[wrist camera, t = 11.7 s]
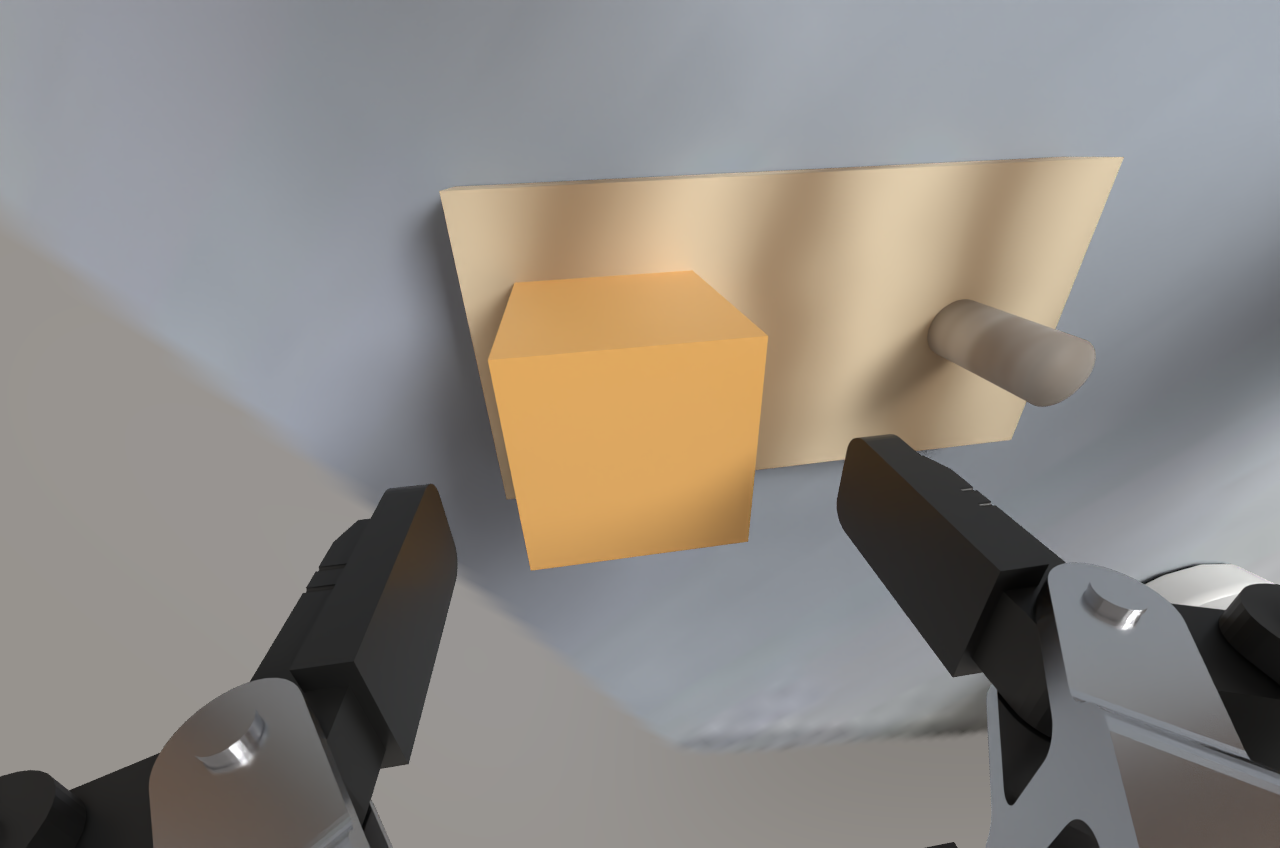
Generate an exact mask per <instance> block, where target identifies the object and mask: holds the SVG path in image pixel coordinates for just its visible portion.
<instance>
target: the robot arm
mask: <svg viewBox="0 0 1280 848" xmlns="http://www.w3.org/2000/svg"><path fill="white" fill-rule="evenodd" d="M837 513H838V518H839V521H840V523H841V526H842V528H843V530H844V531H845V533H846V534H847V535H848V537H849V538H850V539H851V541H852V542H853V543H854V545H855V546H856V547H857V549H858V550H859V551H860V553H861V554H862V555H863V557H864V558H865V560H866V561H867V562H868V564H869V565H870V566H871V568H872V569H873V570H874V572H875V573H876V574H877V576H878V577H879V578H880V580H881V581H882V582H883V584H884V585H885V587H886V588H887V589H888V591H889V592H890V593H891V595H892V596H893V597H894V599H895V600H896V601H897V603H898V604H899V605H900V607H901V608H902V609H903V611H904V612H905V614H906V615H907V616H908V618H909V619H910V620H911V622H912V623H913V624H914V626H915V627H916V628H917V630H918V631H919V632H920V634H921V635H922V636H923V638H924V639H925V641H926V642H927V643H928V645H929V646H930V647H931V649H932V650H933V651H934V653H935V654H936V655H937V657H938V658H939V659H940V661H941V662H942V663H943V665H944V666H945V667H946V669H947V670H948V672H949V673H950V674H951V676H952V677H957V676H963V675H970V674H976V673H982V672H983V673H984V674H985V676H986V677H987V678H988V679H989V681H990V682H991V683H992V684H991V686H990V688H989V690H988V692H987V698H986V703H987V723H988V744H989V764H990V783H991V804H992V817H991V827H990V833H989V837H988V840H987V844H986V848H1280V585H1278V584H1268V583H1259V584H1252V585H1248V586H1246V587H1244V588H1243V589H1242V591H1241V592H1240V593H1239V594H1238V595H1237V597H1236V598H1235V599H1234V600H1233V602H1232V603H1231V604H1230V605H1229V607H1228V608H1227V609H1226V610H1221V609H1213V608H1205V607H1196V606H1188V605H1180V604H1172V603H1170V602H1169V601H1167V600H1166V599H1165V598H1164V597H1162V596H1161V595H1160V594H1159V593H1157V592H1156V591H1154V590H1153V589H1151V588H1150V587H1148V586H1146V585H1145V584H1143V583H1141V582H1139V581H1137V580H1136V579H1133V578H1131V577H1129V576H1127V575H1125V574H1122V573H1120V572H1117V571H1114V570H1112V569H1108V568H1105V567H1102V566H1097V565H1093V564H1086V563H1065V562H1064V561H1063V560H1062V559H1061V558H1059V557H1058V556H1057V555H1056V554H1054V553H1053V552H1052V551H1051V550H1050V549H1048V548H1047V547H1046V546H1045V545H1043V544H1042V543H1041V542H1040V541H1038V540H1037V539H1036V538H1035V537H1034V536H1032V535H1031V534H1030V533H1029V532H1027V531H1026V530H1025V529H1024V528H1023V527H1021V526H1020V525H1019V524H1018V523H1016V522H1015V521H1014V520H1013V519H1012V518H1010V517H1009V516H1008V515H1007V514H1005V513H1004V512H1003V511H1002V510H1000V509H999V508H998V507H997V506H992V505H991V501H989V500H988V499H987V498H986V497H985V496H983V495H982V494H981V493H980V492H978V491H977V490H976V491H974V490H973V487H972V486H971V485H970V484H969V483H967V482H966V481H965V480H964V479H962V478H961V477H960V476H959V475H958V474H956V473H955V472H954V471H953V470H951V469H950V468H948V467H945V466H943V465H941V464H939V463H937V462H935V461H933V460H931V459H929V458H927V457H925V456H921V455H920V454H919V453H917V452H916V451H915V450H914V449H913V448H911V447H910V446H909V445H908V444H907V443H906V442H904V441H903V440H902V439H901V438H900V437H898V436H897V435H894V434H886V435H877V436H868V437H859V438H854V439H852V440H851V441H850V443H849V445H848V447H847V451H846V457H845V462H844V467H843V472H842V477H841V482H840V487H839V492H838V497H837ZM456 576H457V553H456V547H455V544H454V540H453V537H452V534H451V531H450V527H449V524H448V521H447V518H446V515H445V511H444V508H443V505H442V502H441V498H440V495H439V492H438V490H437V488H436V487H435V486H434V485H433V484H426V485H417V486H408V487H399V488H390V489H388V490H387V491H386V492H385V493H384V495H383V497H382V498H381V500H380V502H379V504H378V506H377V508H376V510H375V511H374V513H373V515H372V517H371V519H364V520H358V521H357V522H356V523H354V524H353V525H352V526H351V527H350V528H349V529H348V530H347V531H346V532H344V533H343V534H342V535H341V536H340V537H339V538H338V539H337V540H335V541H334V542H333V544H332V546H331V547H330V549H329V551H328V552H327V554H326V556H325V557H324V559H323V561H322V562H321V564H320V566H319V571H318V572H315V574H314V576H313V577H312V579H311V581H310V583H309V584H308V586H307V587H306V588H307V592H306V593H303V594H302V596H301V598H300V599H299V601H298V602H297V604H296V606H295V607H294V609H293V611H292V612H291V614H290V616H289V618H288V619H287V621H286V622H285V624H284V626H283V628H282V629H281V631H280V632H279V634H278V636H277V638H276V639H275V641H274V643H273V644H272V646H271V647H270V649H269V651H268V653H267V654H266V656H265V658H264V659H263V661H262V662H261V664H260V666H259V668H258V669H257V671H256V672H255V674H254V676H253V678H252V679H251V681H250V682H248V683H246V684H243V685H241V686H238V687H236V688H233V689H231V690H230V691H228V692H226V693H224V694H222V695H220V696H219V697H217V698H215V699H214V700H212V701H211V702H209V703H208V704H206V705H205V706H204V707H202V708H201V709H200V710H199V711H197V712H196V713H195V714H194V715H193V716H191V717H190V718H189V719H188V720H187V721H186V722H185V723H184V724H183V725H182V726H181V727H180V728H179V729H178V730H177V731H176V732H175V733H174V734H173V736H172V737H171V738H170V740H169V741H168V742H167V743H166V745H165V746H164V748H163V749H162V751H161V752H160V753H158V754H156V755H154V756H151V757H149V758H146V759H144V760H142V761H139V762H137V763H134V764H132V765H130V766H127V767H125V768H122V769H120V770H118V771H115V772H113V773H110V774H108V775H105V776H103V777H101V778H98V779H96V780H93V781H91V782H89V783H86V784H84V785H82V786H79V787H76V788H74V789H72V790H68V789H66V788H65V787H64V786H63V785H61V784H60V783H59V782H58V781H56V780H55V779H54V778H52V777H51V776H50V775H49V774H47V773H44V772H41V771H33V770H28V771H20V772H15V773H11V774H8V775H4V776H1V777H0V848H393V847H392V844H391V842H390V840H389V838H388V835H387V833H386V831H385V828H384V826H383V824H382V821H381V819H380V817H379V815H378V812H377V810H376V808H375V806H374V804H373V802H372V800H371V797H372V794H373V790H374V786H375V783H376V780H377V777H378V774H379V770H380V769H381V768H387V767H394V766H399V765H405V764H409V760H410V756H411V752H412V749H413V744H414V741H415V737H416V733H417V729H418V725H419V721H420V718H421V713H422V710H423V706H424V702H425V698H426V694H427V690H428V686H429V683H430V678H431V674H432V671H433V667H434V663H435V659H436V655H437V651H438V648H439V644H440V640H441V636H442V632H443V628H444V624H445V621H446V617H447V613H448V609H449V605H450V601H451V597H452V593H453V589H454V586H455V582H456ZM927 848H957V846H956V844H955V843H954V842H952V843H947V844H942V845H937V846H932V847H927Z"/></svg>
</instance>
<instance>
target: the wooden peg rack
mask: <svg viewBox="0 0 1280 848" xmlns="http://www.w3.org/2000/svg"><path fill="white" fill-rule="evenodd" d="M1123 158H1124V157H1051V158H1030V159H1010V160H989V161H969V162H949V163H928V164H908V165H887V166H867V167H847V168H826V169H806V170H785V171H765V172H745V173H724V174H704V175H683V176H663V177H642V178H622V179H602V180H581V181H561V182H540V183H520V184H500V185H479V186H459V187H452V188H448V189H445V190H442V191H439V192H440V196H441V201H442V205H443V210H444V215H445V219H446V224H447V228H448V233H449V237H450V242H451V247H452V251H453V256H454V260H455V265H456V269H457V274H458V279H459V283H460V288H461V292H462V297H463V302H464V306H465V311H466V315H467V320H468V324H469V329H470V334H471V338H472V343H473V347H474V352H475V357H476V361H477V366H478V370H479V375H480V379H481V384H482V389H483V393H484V398H485V402H486V407H487V411H488V416H489V421H490V425H491V430H492V434H493V439H494V444H495V448H496V453H497V457H498V462H499V466H500V471H501V476H502V480H503V485H504V489H505V494H506V499H515V498H516V495H515V490H514V486H513V481H512V476H511V471H510V466H509V461H508V456H507V451H506V446H505V442H504V437H503V432H502V427H501V422H500V417H499V412H498V407H497V402H496V398H495V393H494V388H493V383H492V378H491V373H490V368H489V363H488V358H489V355H490V352H491V349H492V347H493V344H494V341H495V338H496V335H497V332H498V329H499V326H500V323H501V321H502V318H503V315H504V312H505V309H506V306H507V303H508V300H509V297H510V294H511V292H512V289H513V286H514V283H518V282H532V281H546V280H561V279H575V278H589V277H604V276H618V275H632V274H647V273H661V272H675V271H690V270H693V271H694V272H695V273H696V274H697V275H699V276H700V277H701V278H702V279H703V280H704V281H706V282H707V283H708V284H709V285H710V286H711V287H712V288H714V289H715V290H716V291H717V292H718V293H719V294H721V295H722V296H723V297H724V298H725V299H726V300H727V301H729V302H730V303H731V304H732V305H733V306H734V307H736V308H737V309H738V310H739V311H740V312H741V313H742V314H744V315H745V316H746V317H747V318H748V319H749V320H750V321H752V322H753V323H754V324H755V325H756V326H757V327H759V328H760V329H761V330H762V331H763V332H764V333H765V334H767V335H768V343H767V354H766V364H765V374H764V384H763V394H762V405H761V415H760V425H759V435H758V445H757V455H756V466H755V470H760V469H769V468H777V467H786V466H794V465H803V464H811V463H819V462H828V461H836V460H845V457H846V451H847V447H848V445H849V443H850V441H851V440H852V439H854V438H859V437H868V436H877V435H886V434H894V435H897V436H898V437H900V438H901V439H902V440H903V441H904V442H906V443H907V444H908V445H909V446H910V447H911V448H913V449H914V450H915V451H921V450H929V449H938V448H946V447H955V446H963V445H971V444H980V443H988V442H997V441H1005V440H1011V439H1012V436H1013V434H1014V431H1015V429H1016V426H1017V424H1018V421H1019V419H1020V416H1021V414H1022V411H1023V409H1024V406H1025V404H1026V401H1027V402H1029V403H1031V404H1033V405H1035V406H1041V407H1043V406H1050V405H1054V404H1057V403H1059V402H1061V401H1063V400H1065V399H1067V398H1068V397H1070V396H1071V395H1072V394H1074V393H1075V392H1076V391H1077V390H1078V389H1079V388H1080V387H1081V386H1082V385H1083V384H1084V382H1085V381H1086V380H1087V378H1088V377H1089V375H1090V373H1091V371H1092V369H1093V367H1094V363H1095V349H1094V347H1093V346H1092V344H1091V343H1090V342H1088V341H1087V340H1084V339H1081V338H1078V337H1075V336H1073V335H1070V334H1067V333H1064V332H1061V331H1058V330H1056V326H1057V324H1058V321H1059V319H1060V316H1061V314H1062V311H1063V308H1064V306H1065V303H1066V301H1067V298H1068V296H1069V293H1070V291H1071V288H1072V286H1073V283H1074V281H1075V278H1076V276H1077V273H1078V271H1079V268H1080V266H1081V263H1082V261H1083V258H1084V256H1085V253H1086V251H1087V248H1088V246H1089V243H1090V241H1091V238H1092V236H1093V233H1094V231H1095V228H1096V226H1097V223H1098V221H1099V218H1100V216H1101V213H1102V211H1103V208H1104V206H1105V203H1106V201H1107V198H1108V196H1109V193H1110V191H1111V188H1112V186H1113V183H1114V181H1115V178H1116V176H1117V173H1118V171H1119V168H1120V166H1121V163H1122V161H1123Z"/></svg>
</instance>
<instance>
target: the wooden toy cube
mask: <svg viewBox="0 0 1280 848" xmlns="http://www.w3.org/2000/svg"><path fill="white" fill-rule="evenodd" d="M767 343H768V335H767V334H765V333H764V332H763V331H762V330H761V329H760V328H759V327H757V326H756V325H755V324H754V323H753V322H752V321H750V320H749V319H748V318H747V317H746V316H745V315H744V314H742V313H741V312H740V311H739V310H738V309H737V308H736V307H734V306H733V305H732V304H731V303H730V302H729V301H727V300H726V299H725V298H724V297H723V296H722V295H721V294H719V293H718V292H717V291H716V290H715V289H714V288H712V287H711V286H710V285H709V284H708V283H707V282H706V281H704V280H703V279H702V278H701V277H700V276H699V275H697V274H696V273H695V272H694V271H693V270H690V271H675V272H661V273H647V274H632V275H618V276H604V277H589V278H575V279H561V280H546V281H532V282H518V283H514V286H513V289H512V292H511V294H510V297H509V300H508V303H507V306H506V309H505V312H504V315H503V318H502V321H501V323H500V326H499V329H498V332H497V335H496V338H495V341H494V344H493V347H492V349H491V352H490V355H489V358H488V363H489V368H490V373H491V378H492V383H493V388H494V393H495V398H496V402H497V407H498V412H499V417H500V422H501V427H502V432H503V437H504V442H505V446H506V451H507V456H508V461H509V466H510V471H511V476H512V481H513V486H514V490H515V495H516V500H517V505H518V510H519V515H520V520H521V525H522V530H523V535H524V539H525V544H526V549H527V554H528V559H529V564H530V569H531V571H532V570H539V569H547V568H554V567H562V566H569V565H577V564H584V563H592V562H599V561H606V560H614V559H621V558H629V557H636V556H644V555H651V554H659V553H666V552H674V551H681V550H689V549H696V548H704V547H711V546H718V545H726V544H733V543H741V542H748V537H749V527H750V516H751V506H752V496H753V486H754V476H755V466H756V455H757V445H758V435H759V425H760V415H761V405H762V394H763V384H764V374H765V364H766V354H767Z"/></svg>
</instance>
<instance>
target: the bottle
mask: <svg viewBox="0 0 1280 848" xmlns="http://www.w3.org/2000/svg"><path fill="white" fill-rule="evenodd" d="M1259 583H1268V584H1274V583H1272V582H1270V581H1268V580H1266V579H1264V578H1262V577H1260V576H1258V575H1255V574H1253V573H1251V572H1249V571H1247V570H1245V569H1243V568H1241V567H1239V566H1236V565H1233V564H1201V565H1198V566H1194V567H1191V568H1187V569H1184V570H1180V571H1177V572H1173V573H1169V574H1166V575H1163V576H1161V577H1159V578H1157V579H1155V580H1152V581H1150V582H1148V583H1146V584H1145V585H1146V586H1148V587H1150V588H1151V589H1153V590H1154V591H1156V592H1157V593H1159V594H1160V595H1161V596H1162V597H1164V598H1165V599H1166V600H1167V601H1169V602H1170V603H1172V604H1180V605H1188V606H1196V607H1205V608H1213V609H1221V610H1226V609H1227V608H1228V607H1229V605H1230V604H1231V603H1232V602H1233V600H1234V599H1235V598H1236V597H1237V595H1238V594H1239V593H1240V592H1241V591H1242V589H1243V588H1244V587H1246V586H1248V585H1252V584H1259Z"/></svg>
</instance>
